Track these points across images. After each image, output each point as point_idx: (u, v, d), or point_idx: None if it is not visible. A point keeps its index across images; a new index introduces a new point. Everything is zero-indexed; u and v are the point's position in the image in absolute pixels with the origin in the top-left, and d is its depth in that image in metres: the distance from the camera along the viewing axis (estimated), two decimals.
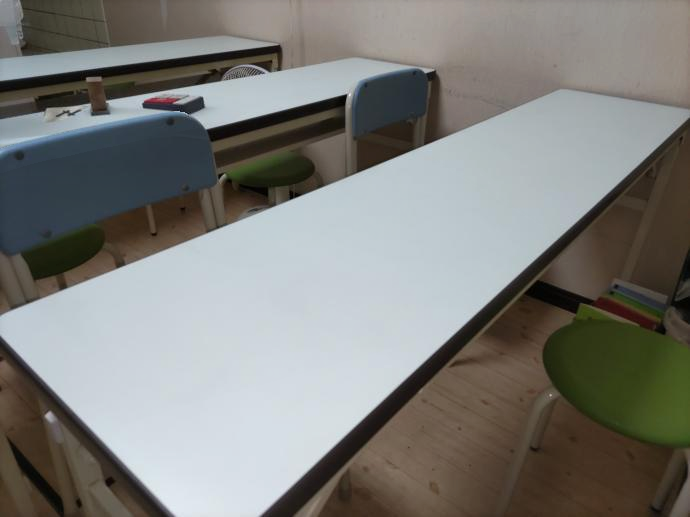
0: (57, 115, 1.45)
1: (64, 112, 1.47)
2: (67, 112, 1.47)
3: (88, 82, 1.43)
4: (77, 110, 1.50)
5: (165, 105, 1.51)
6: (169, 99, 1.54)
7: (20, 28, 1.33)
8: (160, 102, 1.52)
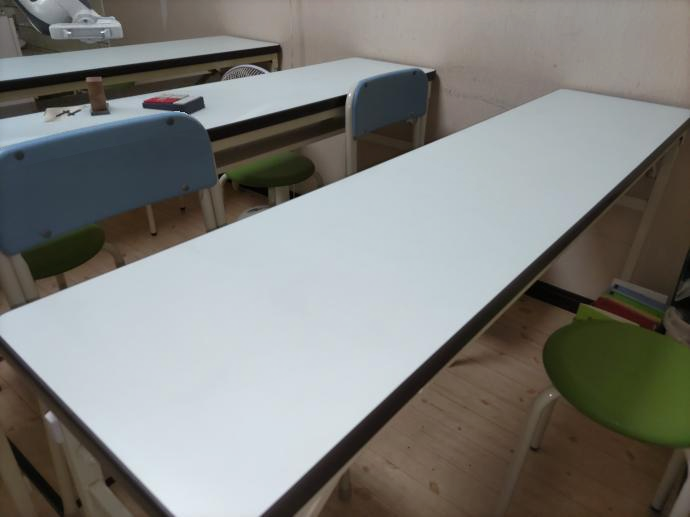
0: (57, 115, 1.45)
1: (64, 112, 1.47)
2: (67, 112, 1.47)
3: (88, 82, 1.43)
4: (77, 110, 1.50)
5: (165, 105, 1.51)
6: (169, 99, 1.54)
7: None
8: (160, 102, 1.52)
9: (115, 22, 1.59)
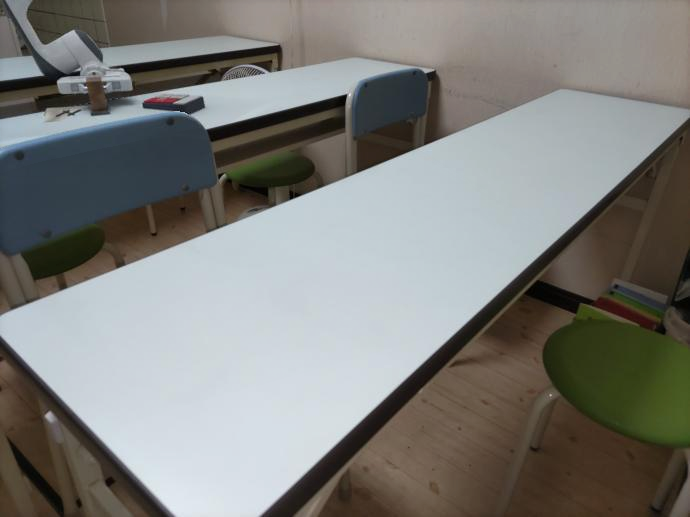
0: (57, 115, 1.45)
1: (64, 112, 1.47)
2: (67, 112, 1.47)
3: (88, 82, 1.43)
4: (77, 110, 1.50)
5: (165, 105, 1.52)
6: (169, 99, 1.54)
7: None
8: (160, 102, 1.52)
9: (124, 74, 1.56)
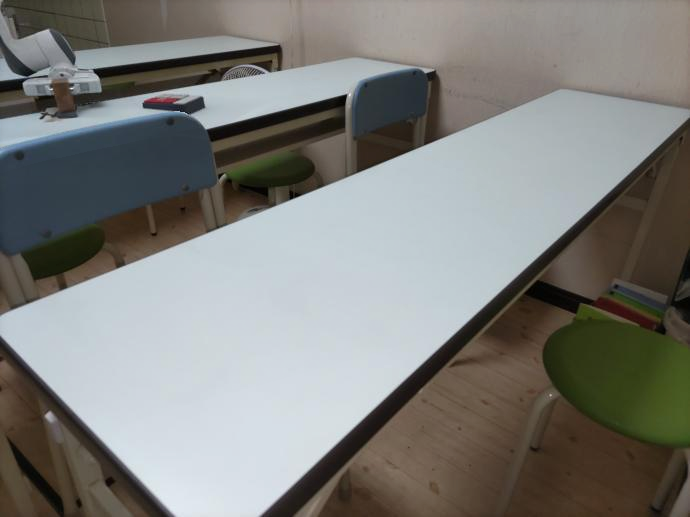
0: (41, 117, 1.42)
1: (45, 114, 1.45)
2: (48, 114, 1.45)
3: (53, 84, 1.40)
4: None
5: (165, 105, 1.52)
6: (169, 99, 1.54)
7: None
8: (160, 102, 1.52)
9: (93, 76, 1.52)
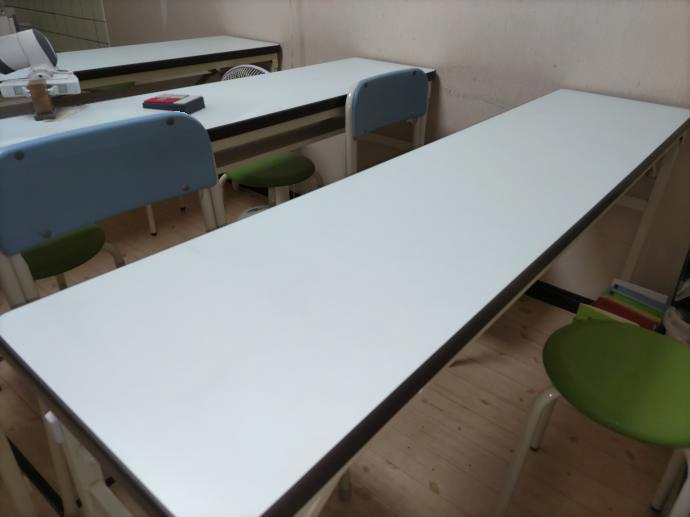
0: None
1: None
2: None
3: (29, 85, 1.38)
4: None
5: (165, 105, 1.52)
6: (169, 99, 1.54)
7: None
8: (160, 102, 1.52)
9: (72, 77, 1.51)
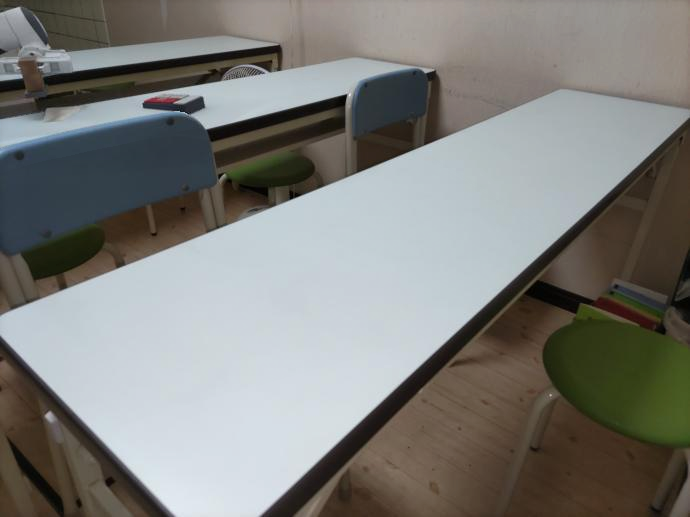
0: None
1: None
2: None
3: (20, 61, 1.35)
4: None
5: (165, 105, 1.52)
6: (169, 99, 1.54)
7: None
8: (160, 102, 1.52)
9: (65, 56, 1.47)
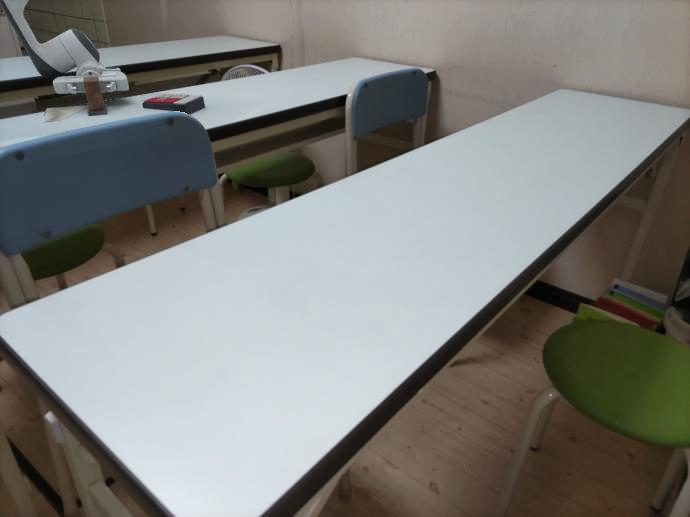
0: None
1: None
2: None
3: (85, 82, 1.43)
4: None
5: (165, 105, 1.52)
6: (169, 99, 1.54)
7: None
8: (160, 102, 1.52)
9: (121, 74, 1.55)
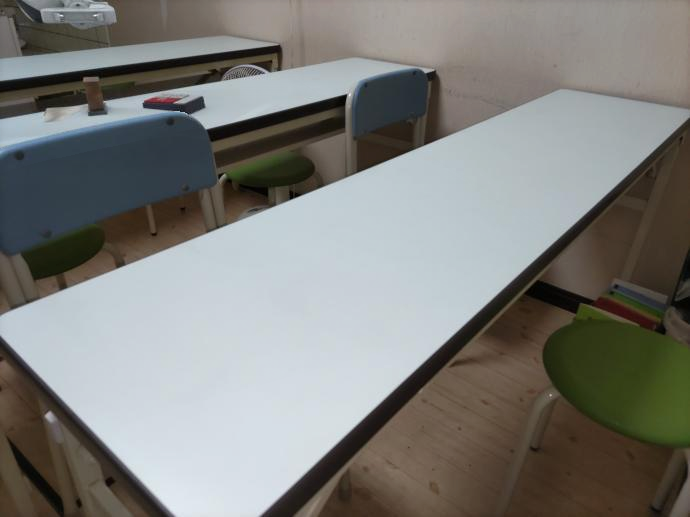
0: None
1: None
2: None
3: (85, 82, 1.43)
4: None
5: (165, 105, 1.52)
6: (169, 99, 1.54)
7: None
8: (160, 102, 1.52)
9: (108, 7, 1.56)
